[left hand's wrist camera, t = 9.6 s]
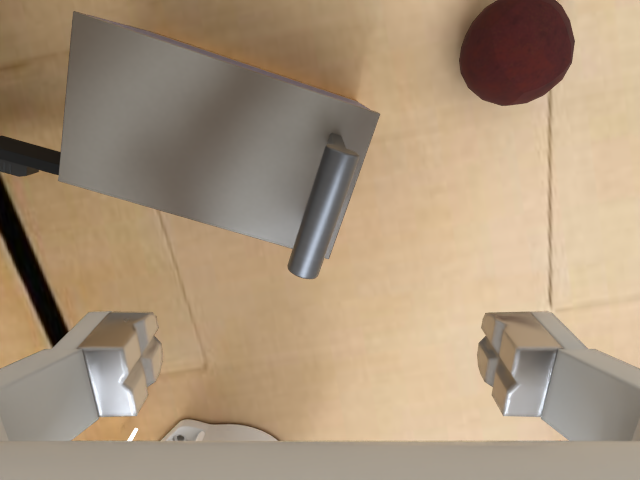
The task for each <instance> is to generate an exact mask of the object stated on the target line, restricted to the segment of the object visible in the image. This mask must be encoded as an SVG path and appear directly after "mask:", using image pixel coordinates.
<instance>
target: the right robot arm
mask: <svg viewBox="0 0 640 480" xmlns="http://www.w3.org/2000/svg"><path fill="white" fill-rule="evenodd" d="M60 156H61V152H58V151H54V150H51V149H47V148H44V147H40V146H36V145H33V144H29V143H26V142H22V141H19V140H15V139H12V138H8V137H5V136H0V171H1V172H5V173H8V174H12V175H15V176H27V175H30V174H33V173H36V172H39V170H42V171H45V172H49V173H52V174H56V175H59V167H60Z"/></svg>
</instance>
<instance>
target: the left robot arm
mask: <svg viewBox="0 0 640 480" xmlns="http://www.w3.org/2000/svg"><path fill="white" fill-rule="evenodd" d="M158 328H159V326H158V321H157V317H156V315H155V314H154V313H153V312H111V311H94V312H88V313H87V314H86V315H85V316H84V317H83V318H82V319H81V320H80V321H79V322H78V323H77V324H76V325H75V326H74V327H73V328H72V329H71V330H70V331H69V332H68V333H67V334H66V335H65V336H64V337H63V338H62V339H61V340H60V341H59V342H58V343H57V344H56V345H55V346H54V347H53V348H52V349H44V350H42V351H39V352H37V353H35V354H33V355H30V356H28V357H26V358H23V359H21V360H19V361H17V362H14V363H12V364H10V365H8V366H5V367H3V368H1V369H0V480H640V369H639V368H637V367H635V366H632V365H630V364H628V363H626V362H623V361H621V360H619V359H617V358H614V357H612V356H610V355H607V354H605V353H603V352H601V351H598V350H596V349H588V348H587V347H586V346H585V345H584V344H583V343H582V342H581V341H580V340H579V339H578V338H577V337H576V336H575V335H574V334H573V333H572V332H571V331H570V330H569V329H568V328H567V327H566V326H565V325H564V324H563V323H562V322H561V321H560V320H559V319H558V318H557V317H556V316H555V315H554V314H553V313H551V312H548V311H535V312H497V313H485V315H484V317H483V321H482V326H481V328H482V330H483V331H484V333H485V335H486V336H485V337H484V338H483V339H482V340H481V341H480V342H479V345H478V352H477V358H478V367H479V370H480V374H481V376H482V378H483V380H484V382H486V383H487V384H489V385H490V386H492V387H493V390H492V396H493V398H494V400H495V402H496V404H497V405H498V407H499V409H500V411H501V413H502V414H503V416H525V417H541V419H542V420H543V421H545V422H546V423H547V424H549V425H550V426H551V427H552V428H554V429H555V430H556V431H558V432H559V433H560V434H561V435H563V436H564V437H565V438H567V439H568V440H569V441H278V440H277V439H275V438H274V437H273V436H271V435H269V434H267V433H266V432H263V431H261V430H259V429H256V428H253V427H249V426H244V425H237V424H207V423H204V422H200V421H196V420H191V419H185V420H182V421H180V422H179V423H178V424H177V425H176V426H175V427H174V428H173V429H172V430H171V431H170V432H169V433H168V434H167V435H166V436H165V437H164V438H163V439H162V440H161V441H132V439H133V438H134V436H135V434H136V432H137V430H138V429H136V428H135V429H134V431H133V433H132V434H131V436H130V437H129V439H128V441H71V440H72V439H74V438H75V437H76V436H77V435H79V434H80V433H81V432H83V431H84V430H85V429H86V428H88V427H89V426H90V425H92V424H93V423H94V422H95V421H97V420H98V419H99V417H114V416H137V414H138V413H139V411H140V409H141V407H142V405H143V404H144V402H145V400H146V398H147V396H148V390H147V387H148V386H150V385H151V384H153V383H154V382H156V380H157V378H158V376H159V374H160V370H161V366H162V362H163V351H162V344H161V342H160V341H159V340H158V339H157V338H156V337H155V336H154V335H155V333H156V332H157V330H158Z"/></svg>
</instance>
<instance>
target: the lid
mask: <svg viewBox="0 0 640 480" xmlns="http://www.w3.org/2000/svg"><path fill="white" fill-rule="evenodd" d="M379 116H380V114H379V113H378V112H375V111H372V110H369V109H366V108H363V107H360V106H357V105H354V104H351V103H348V102H345V101H342V100H339V99H336V98H333V97H330V96H327V95H324V94H321V93H318V92H315V91H312V90H309V89H306V88H303V87H300V86H297V85H294V84H291V83H288V82H285V81H282V80H279V79H276V78H273V77H270V76H268V75H265V74H262V73H259V72H256V71H253V70H250V69H247V68H244V67H241V66H238V65H235V64H232V63H229V62H226V61H223V60H220V59H217V58H214V57H211V56H208V55H205V54H202V53H199V52H196V51H193V50H190V49H187V48H184V47H181V46H178V45H175V44H172V43H169V42H166V41H163V40H160V39H157V38H154V37H151V36H148V35H145V34H142V33H139V32H136V31H133V30H130V29H127V28H124V27H121V26H118V25H115V24H112V23H109V22H107V21H104V20H101V19H98V18H95V17H92V16H89V15H86V14H83V13H79V12H75V11H74V12H73V21H72V32H71V43H70V55H69V66H68V77H67V88H66V100H65V111H64V122H63V133H62V145H61V156H60V167H59V178H58V181H60V182H64V183H67V184H71V185H74V186H78V187H81V188H85V189H88V190H91V191H95V192H98V193H102V194H105V195H109V196H112V197H116V198H119V199H123V200H126V201H129V202H133V203H136V204H140V205H143V206H147V207H150V208H154V209H157V210H160V211H164V212H167V213H171V214H174V215H178V216H181V217H185V218H188V219H192V220H195V221H198V222H202V223H205V224H209V225H212V226H216V227H219V228H223V229H226V230H230V231H233V232H236V233H240V234H243V235H247V236H250V237H254V238H257V239H261V240H264V241H268V242H271V243H274V244H278V245H281V246H285V247H288V248H292V249H293V250H292V253H291V256H290V259H289V262H288V270H289V271H290V272H291V273H293V274H294V275H296V276H298V277H301V278H305V279H314V278H316V277H317V276H318V274H319V271H320V269H321V266H322V263H323V260H324V258H326V259H329V257H330V254H331V252H332V249H333V246H334V243H335V240H336V237H337V235H338V232H339V229H340V226H341V223H342V220H343V218H344V215H345V212H346V209H347V206H348V204H349V201H350V198H351V195H352V192H353V189H354V187H355V184H356V181H357V178H358V175H359V173H360V170H361V167H362V164H363V161H364V158H365V156H366V153H367V150H368V147H369V144H370V141H371V139H372V136H373V133H374V130H375V127H376V125H377V122H378V119H379Z"/></svg>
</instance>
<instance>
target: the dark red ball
mask: <svg viewBox="0 0 640 480" xmlns="http://www.w3.org/2000/svg"><path fill="white" fill-rule="evenodd" d="M574 43H575V40H574V36H573V32H572V28H571V23H570V20H569V18H568V16H567V14H566V13H565V11H564V9H563V7H562V6H561V5H560V4H559V3H558V2H557V1H556V0H497V1H495V2H494V3H492V4H490V5H489V6H487V7H486V8H485V9H484V10H483V11H482V12H481V13H480V14H479V15H478V17H477V18H476V19H475V20H474V21H473V23H472V25H471V26H470V28H469V30H468V32H467V34H466V36H465V39H464V41H463V44H462V47H461V53H460V59H459V62H460V71H461V74H462V76H463V78H464V80H465V82H466V84H467V86H468V88H469V89H470V90H472V91H473V92H474V93H475V94H476V95H477V96H479V97H480V98H481V99H482V100H485V101H488V102H491V103H494V104H498V105H501V106H507V105H516V104H523V103H528V102H530V101H532V100H534V99H537V98H539V97H541V96H543V95H545V94H546V93H547V92H548V91H550V90H551V89H552V88H553V87H554V86H555V85H556V84H558V83H559V82H560V81H561V80H562V79H563V77H564V75H565V74H566V72H567V70H568V69H569V67H570V65H571V63H572V58H573V50H574Z"/></svg>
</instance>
